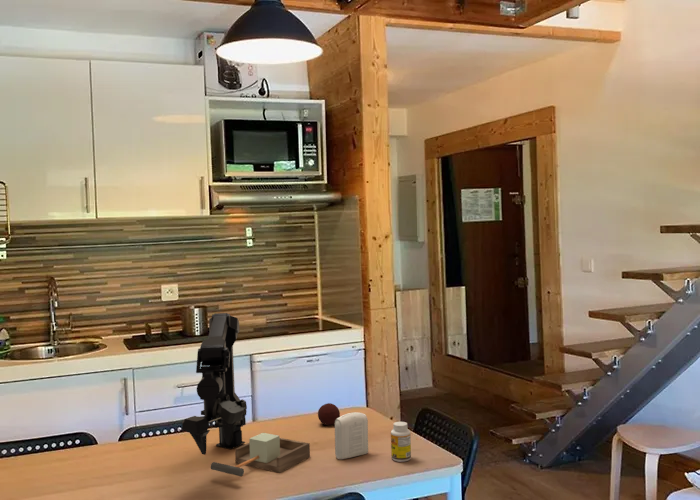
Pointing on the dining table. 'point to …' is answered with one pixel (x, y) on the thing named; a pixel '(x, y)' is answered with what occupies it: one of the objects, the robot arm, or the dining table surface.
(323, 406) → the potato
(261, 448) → the corded block
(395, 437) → the supplement bottle
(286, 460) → the brown wooden tray
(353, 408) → the dining table surface
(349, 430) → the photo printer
